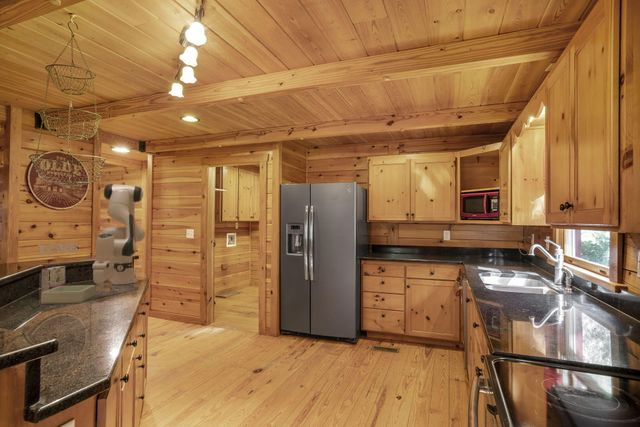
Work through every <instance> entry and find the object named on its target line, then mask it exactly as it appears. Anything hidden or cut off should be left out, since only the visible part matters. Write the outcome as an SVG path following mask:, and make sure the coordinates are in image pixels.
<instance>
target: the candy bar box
mask: <svg viewBox="0 0 640 427" xmlns="http://www.w3.org/2000/svg"><path fill="white" fill-rule="evenodd" d="M66 268H67V266H63V265H62V266H61V265H59V266H52V267H47V268H42V269H41V292H40V294H41V293H42V292H45V291H47V290H50V289H53V288H55V287H58V286H66Z"/></svg>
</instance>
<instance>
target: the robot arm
mask: <svg viewBox="0 0 640 427" xmlns="http://www.w3.org/2000/svg"><path fill="white" fill-rule="evenodd" d="M102 194H103V197H104V198H105V199H106V200H109V201H108V203H107V204H108V205H107V214H108V216H109V217H110V218H111V219H113V221H116V222H119V223H120V224H121V223H122V224H124V225H125V226H108V227H105V228H104V229H103V230H102V232H101V233H100V234H99V235H98V236H97V238H96V242H95V243H96V244H95V253H96V254H95V255H96V256H95V261H94V262H93V264H92V266H91V268H92V269H93V271H92V279H93V283H95V284H97V283H99V286H100V290H101V289H104V281H112V285H114V286H115V285H128V284H134V283H135V284H136V283H139V277H137V275H136V270H135V269H134V261H133V255H134V254H135V253H136V252H137V243H139V242H142V241H143V240H144V239H145V237H146V232H145V230H144V228H143V227H141V226H140V225H139V224H138V223H137V220H136V218H135V206H136V205H135V203H139V202H140V201H142V199H143V196H144V192H143V189H142V187H140V186H136V185H135V186H134V185H130V184H114V183H108V184H106V185H105V187H104V188H103V193H102Z"/></svg>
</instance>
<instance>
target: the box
mask: <svg viewBox="0 0 640 427" xmlns="http://www.w3.org/2000/svg"><path fill="white" fill-rule="evenodd" d="M96 285H97V284H88V285H87V284H86V285H83V284H82V285H80V284H79V285H65V286H58V287H55V288H53V289H50V290H47V291H45V292H42V293H41V292H40V305H41V306H42V305H62V304H64V305H65V304H66V305H68V304H69V305H70V304H82V303H84V302H86V301H88V300H89V299H91V298H93V297H95V296H96Z"/></svg>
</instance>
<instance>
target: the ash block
mask: <svg viewBox="0 0 640 427" xmlns="http://www.w3.org/2000/svg"><path fill="white" fill-rule="evenodd" d="M95 285H96V291H95V293H106V292H107V293H108V292H110V291H113V290H112V288H113V287H112V286H113V284H112V281H104V289H101V290H100V286H99V283H96V284H95Z"/></svg>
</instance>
